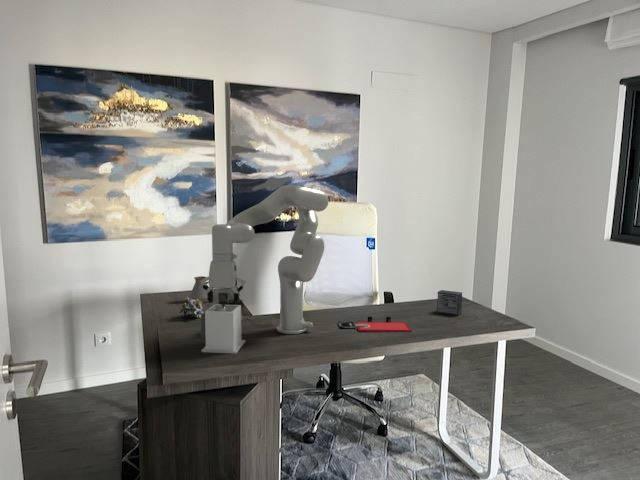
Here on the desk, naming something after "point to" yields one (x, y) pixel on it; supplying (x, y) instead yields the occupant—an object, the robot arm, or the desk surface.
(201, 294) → the coffee pot
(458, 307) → the small box
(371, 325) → the red board with handle
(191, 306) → the passion flower
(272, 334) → the desk surface
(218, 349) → the press housing
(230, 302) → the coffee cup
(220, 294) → the plunger
